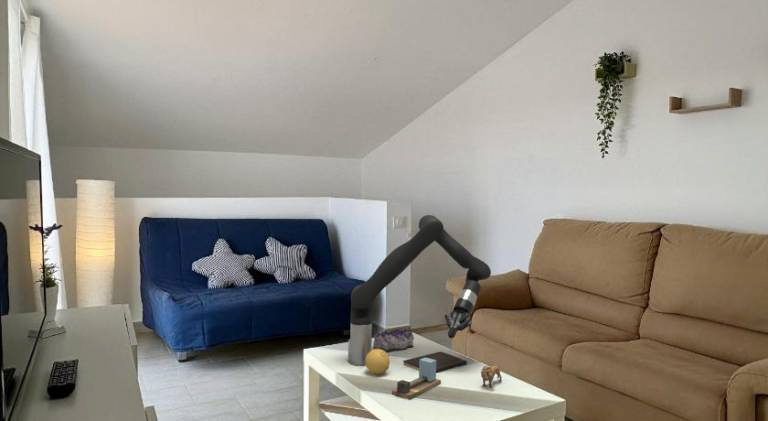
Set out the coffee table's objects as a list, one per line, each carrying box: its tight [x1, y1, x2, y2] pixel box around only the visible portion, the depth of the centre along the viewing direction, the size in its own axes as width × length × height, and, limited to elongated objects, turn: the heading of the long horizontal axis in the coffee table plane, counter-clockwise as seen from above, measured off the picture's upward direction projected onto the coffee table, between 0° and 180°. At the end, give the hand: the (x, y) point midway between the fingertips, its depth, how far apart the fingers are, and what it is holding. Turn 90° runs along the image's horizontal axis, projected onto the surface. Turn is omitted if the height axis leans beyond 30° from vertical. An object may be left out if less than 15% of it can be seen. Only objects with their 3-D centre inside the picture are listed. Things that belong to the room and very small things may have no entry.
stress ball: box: [365, 348, 391, 375], centre depth 225 cm, size 10×10×10 cm
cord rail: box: [391, 377, 442, 401], centre depth 209 cm, size 8×21×5 cm, turn 142°
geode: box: [372, 328, 415, 352], centre depth 261 cm, size 20×12×10 cm, turn 121°
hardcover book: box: [402, 351, 468, 374], centre depth 238 cm, size 16×23×2 cm
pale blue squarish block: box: [418, 358, 437, 382], centre depth 215 cm, size 5×4×7 cm
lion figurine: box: [480, 365, 502, 389], centre depth 215 cm, size 15×5×9 cm, turn 149°
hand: (450, 337), depth 227 cm, fingers closed
